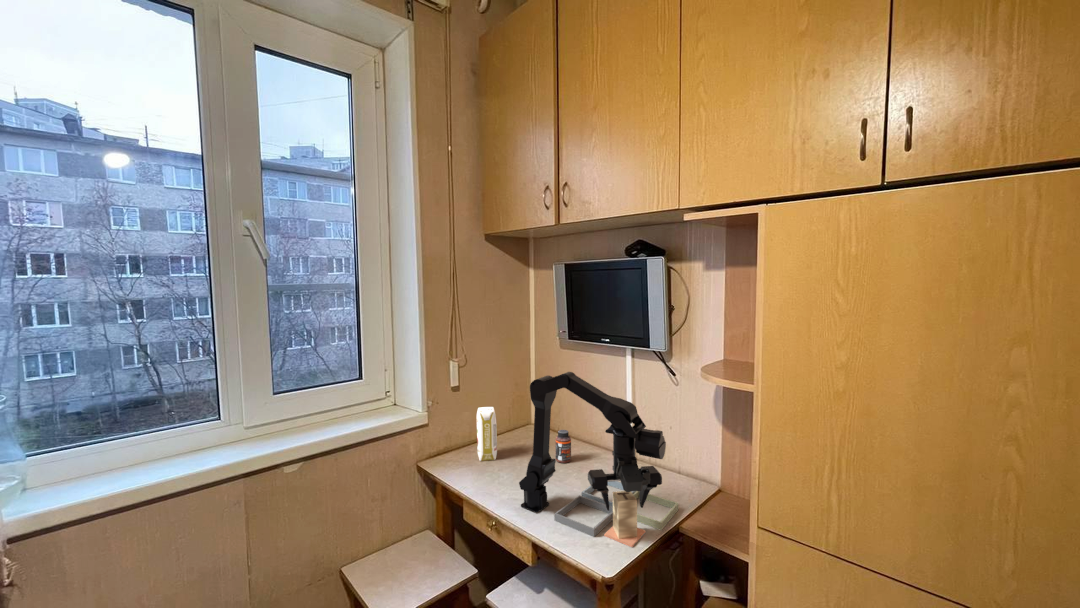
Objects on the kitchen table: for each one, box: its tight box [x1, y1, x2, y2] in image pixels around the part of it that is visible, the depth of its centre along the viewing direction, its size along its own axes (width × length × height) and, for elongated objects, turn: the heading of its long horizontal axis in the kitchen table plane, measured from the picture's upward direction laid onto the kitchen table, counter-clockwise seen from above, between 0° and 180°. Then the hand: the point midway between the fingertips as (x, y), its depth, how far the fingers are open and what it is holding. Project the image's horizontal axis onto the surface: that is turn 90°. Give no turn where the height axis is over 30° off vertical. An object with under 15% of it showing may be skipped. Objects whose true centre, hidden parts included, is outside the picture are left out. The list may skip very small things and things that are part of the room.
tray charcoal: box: [553, 494, 613, 538], centre depth 119 cm, size 13×13×2 cm
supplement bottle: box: [555, 429, 572, 464], centre depth 159 cm, size 6×6×11 cm
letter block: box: [612, 490, 638, 539], centre depth 111 cm, size 5×5×10 cm
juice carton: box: [476, 406, 498, 462], centre depth 163 cm, size 8×9×19 cm
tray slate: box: [581, 481, 636, 507], centre depth 131 cm, size 13×13×2 cm
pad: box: [604, 525, 646, 548], centre depth 111 cm, size 8×8×1 cm
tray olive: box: [633, 491, 680, 531], centre depth 122 cm, size 13×13×2 cm
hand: (624, 508), depth 111 cm, fingers open, 9 cm apart
